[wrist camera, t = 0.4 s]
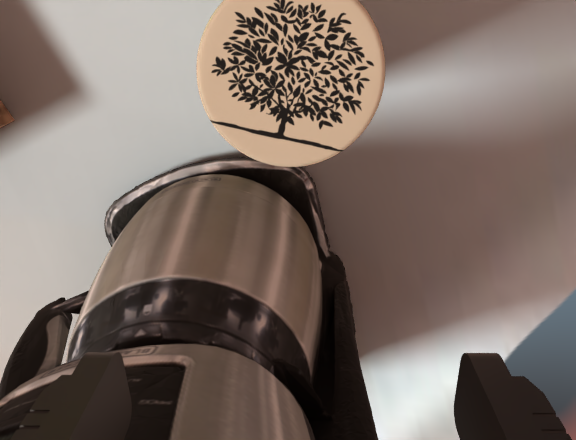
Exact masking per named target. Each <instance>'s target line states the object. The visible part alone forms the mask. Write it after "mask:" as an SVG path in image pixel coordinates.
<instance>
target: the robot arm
mask: <svg viewBox="0 0 576 440" xmlns="http://www.w3.org/2000/svg"><path fill="white" fill-rule="evenodd" d="M131 413H132V402H131V396H130V392H129V387H128V382H127V377H126V372H125V367H124V362H123V358H122V355H121V354H120V353H119V352H88V353H85V354H84V355H83V357H82V358H81V360H80V362H79V363H78V365H77V367H76V368H75V370H74V371H73V373H72V375H61V376H60V377H58V378H57V379H56V380H55V381H54V382H52V383H51V384H50V385H49V386H48V387H46V388H45V389H44V390H43V391H42V392H41V394H40V395H39V397H38V398H37V400H36V401H35V403H34V404H33V406H32V407H31V409H30V413H29V414H27V415H26V416H25V418H24V419H23V421H22V422H21V424H20V428H19V430H16V432H15V433H14V435H13V436H12V438H11V439H10V440H124V438H125V436H126V433H127V431H128V428H129V425H130V420H131ZM454 417H455V424H456V428H457V432H458V435H459V438H460V440H572V439H571V437H570V436H569V434H566V430H565V428H564V426H563V424H562V423H561V421H560V419H559V418H558V417H556V413H555V411H554V409H553V408H552V406H551V404H550V403H549V401H548V400H547V398H546V396H545V395H544V393H543V392H542V391H540V390H539V389H538V388H537V387H536V386H535V385H534V384H532V383H531V382H530V381H529V380H528V379H527V378H525V377H524V376H522V377H521V376H516V377H515V376H511V374H510V372H509V371H508V369H507V367H506V365H505V363H504V361H503V360H502V358H501V356H500V355H499V354H497V353H464V354H463V355H462V358H461V362H460V368H459V375H458V381H457V388H456V395H455V401H454Z"/></svg>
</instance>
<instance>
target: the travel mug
mask: <svg viewBox="0 0 576 440" xmlns="http://www.w3.org/2000/svg"><path fill="white" fill-rule="evenodd" d="M384 81H385V57H384V50H383V46H382V42H381V39H380V36H379V33H378V30H377V28H376V26H375V24H374V22H373V20H372V18H371V17H370V15H369V13H368V12H367V11H366V9H365V8H364V7H363V5H362V4H361V3H360V2H359V1H358V0H224V1H223V2H222V3H221V4H220V5H219V7H218V8H217V9H216V10H215V12H214V13H213V15H212V16H211V18H210V20H209V22H208V24H207V26H206V28H205V30H204V33H203V35H202V38H201V42H200V45H199V50H198V55H197V84H198V89H199V94H200V97H201V101H202V103H203V106H204V109H205V111H206V113H207V115H208V117H209V119H210V120H211V122H212V124H213V125H214V127H215V128H216V129H217V131H218V132H219V133H220V134H221V136H222V137H223V138H224V139H225V140H226V141H227V142H228V143H230V144H231V145H232V146H233V147H234V148H236V149H237V150H238V151H240V152H241V153H243V154H245V155H246V156H248V157H250V158H252V159H254V160H257V161H260V162H262V163H266V164H270V165H275V166H281V167H300V166H307V165H312V164H316V163H319V162H322V161H324V160H327V159H329V158H331V157H333V156H335V155H337V154H339V153H340V152H342V151H343V150H345V149H346V148H347V147H348V146H350V145H351V144H352V143H353V142H354V141H355V140H356V139H357V138H358V137H359V136H360V135H361V134H362V133H363V131H364V130H365V129H366V127H367V126H368V125H369V123H370V121H371V120H372V118H373V116H374V114H375V112H376V110H377V108H378V105H379V102H380V99H381V96H382V92H383V88H384Z"/></svg>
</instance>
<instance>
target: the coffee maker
mask: <svg viewBox="0 0 576 440" xmlns="http://www.w3.org/2000/svg"><path fill="white" fill-rule="evenodd" d="M104 225H105V232H106V236H107V238H108V240H109V243H110V245H111V247H112V248H111V249H110V251H109V253H108V254H107V256H106V258H105V260H104V262H103V263H102V265H101V267H100V269H99V271H98V273H97V275H96V277H95V279H94V281H93V283H92V285H91V287H90V290H89V291H87V292H84V293H82V294H80V295H77V296H75V297H73V298H70V299H68V300H65V298H59V299H58V300H56V301H54V302H52V303H50V304H48V305H46V306H45V307H44V308H42V309H41V310H39V311H38V312H37V314H36V315H35V317H34V319H33V320H32V321H31V322H30V324H29V325H28V327H27V328H26V330H25V331H24V333H23V334H22V336H21V337H20V339H19V341H18V343H17V345H16V346H15V348H14V350H13V352H12V354H11V356H10V358H9V360H8V363H7V365H6V368H5V370H4V374H3V377H2V380H1V383H0V440H10V439H11V438H12V436H13V435H14V433H15V432H16V430H19V428H20V424H21V422H22V421H23V419H24V418H25V416H26V415H27V414H29V413H30V409H31V407H32V406H33V404H34V403H35V401H36V400H37V398H38V397H39V395H40V394H41V392H42V391H43V390H44V389H45V388H46V387H48V386H49V385H50V384H51V383H52V382H54V381H55V380H56V379H57V378H58V377H60V376H61V375H72V373H73V371H74V370H75V368H76V367H77V365H78V363H79V362H80V360H81V358H82V357H83V355H84V354H85V353H88V352H119V353H120V354H121V355H122V358H123V362H124V367H125V372H126V377H127V382H128V387H129V392H130V396H131V402H132V413H131V420H130V425H129V428H128V431H127V433H126V436H125V438H124V440H378V437H377V433H376V428H375V424H374V420H373V416H372V411H371V407H370V403H369V399H368V395H367V391H366V386H365V383H364V379H363V375H362V370H361V367H360V361H359V357H358V350H357V344H356V340H355V332H356V331H355V327H354V326H355V324H354V319H353V315H352V314H353V311H352V308H353V307H352V303H351V300H350V292H349V287H348V283H347V281H346V274H345V268H344V266H343V263H342V261H341V260H340V259H339V257H338V256H337V255H334V254H333V253H331V252H329V251H328V249H329V248H330V245H328V238H327V235H326V233H325V225H324V221H323V217H322V213H321V208H320V204H319V200H318V196H317V191H316V186H315V183H314V182H313V180H312V178H311V177H310V176H309V174H308V172H307V171H306V170H305V169H303V168H302V167H301V166H300V167H281V166H275V165H270V164H266V163H262V162H260V161H257V160H254V159H252V158H250V157H249V158H245V157H241V158H227V159H217V160H211V161H206V162H203V163H200V162H199V163H195V164H190V165H186V166H183V167H180V168H177V169H174V170H172V171H169V172H167V173H164V174H161V175H159V176H156V177H154V178H153V179H150V180H148V181H146V182H144V183H142V184H140V185H139V186H136V187H135V188H134V189H132V190H131V191H129V192H127V193H125V194H124V195H123V196H122V197H120V198H119V199H118V200H116V201H114V203H113V204H112V205H111V206H110V208H109V209H108V211H107V212H106V217H105V223H104ZM71 313H75V314H79V317H78V320H77V322H76V325H75V327H74V330H73V333H72V336H71V338H70V341H69V344H68V349H67V354H66V363H65V364H62V365H61V363H62V359H63V354H64V350H65V346H66V342H67V338H68V334H69V330H70V326H71V322H72V314H71Z"/></svg>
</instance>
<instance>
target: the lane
mask: <svg viewBox="0 0 576 440" xmlns="http://www.w3.org/2000/svg"><path fill="white" fill-rule="evenodd" d="M12 121H14V118H13V117H12V116H11V114H10V113H9V111H8V110H7V109H6V107H5V106H4V104H3V103H2V101H1V100H0V128H2V127H3V126H5V125H7V124H9V123H11V122H12Z"/></svg>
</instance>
